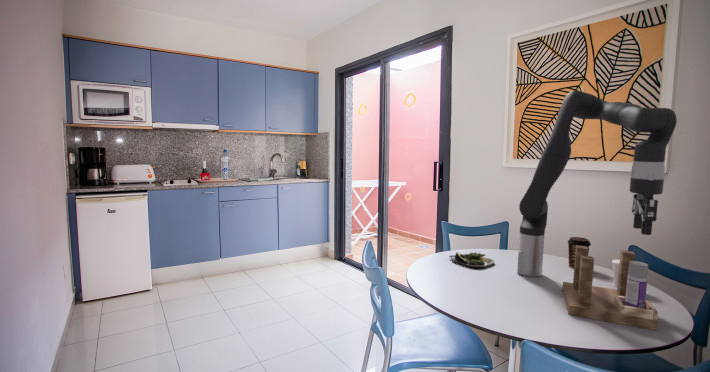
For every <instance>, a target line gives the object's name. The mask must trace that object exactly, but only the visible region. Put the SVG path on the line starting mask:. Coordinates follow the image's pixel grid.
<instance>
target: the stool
mask: <svg viewBox="0 0 710 372" xmlns="http://www.w3.org/2000/svg"><path fill="white" fill-rule="evenodd" d="M619 253H620V256H619V260H620V264H619V275H618V287H616V288H617V289H616V288H615V289H614V288H609V287H602V286H601V287H600V286H595V285H593V280H594V279H593V278H594V267H595V266H594V265H595V259H594V257H593V256H591V255H590V256H589V253H588V248H587V246H577V245H576V252H575V265H574V268H573V279H572V280H573V282H568V281H562V288H561V289H562V293H563V298H564V302H565V305H566V310H567V315H570V316H575V317H581V318H586V319H591V320H592V319H593V320H597V321H604V322H609V323H614V324H620V325H624V326H625V325H626V326H630V327H637V328H641V329H646V330H652V331H655V332H656V331H657V330H658V317H659V316H658V315H659V311H657V309H656V307H654V305H653V304H652V303H651V301H650V300H648V299H645V307H644V309H643V308H637V307H631V306H625V298H626V287H627V277H628V270H629V262H630V261H635V259H636V258H635V257H636V254H635V252H634V251H633V250H631V251H629V250H622V249H621V250H620V252H619ZM587 255H588V256H587Z"/></svg>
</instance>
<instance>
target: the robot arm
mask: <svg viewBox="0 0 710 372" xmlns="http://www.w3.org/2000/svg"><path fill="white" fill-rule="evenodd" d="M574 118H577V119H579V120H600V121H605V122H606V123H610V124H613V125H617V126H622V127H625V128H626V129H628V130H629V131H632V132H636V133H648V134H649V136H648V137H647V138H646V140H643V141H638V142H637V143H636V144H635V145H634V151H633V160H632V166H631V171H630V183H629V192H630V193H632V194H633V196H632V197H633V200H632V207H631V213H632V215H633V225H632V227H633V228H634V229H637V230H640V233H641V235H645V236H651V235H652V231H653V223H654V222H656V221H657V220H658V219H657V216H658V215H657V214H658V203H659V201H658V199H654V196H655V195H659V196H660V195H662V194H663V192H664V182H665V181H664V180H665V172H666V168H665V167H666V166H665V160H666V154H667V153H666V152H667V151H666V150H667V147H668V144H669V142H670V140H671V137H672V136H673V133H674V131H675V129H676V127H677V121H678V119H677V115H676V112H675V111H674V110H673V109H671V108H667V107H642V106H641V105H638V104H635V103H629V102H623V101H613V102H610V101H606V100H604V99H602V98H600V97H598V96H596V95H594V94H591V93H589V92H585V91H581V90H576V89H575V90H571V91H570V92H568V93H567V94H566V95H565V97H564V99H563V100H562V103H561V105H560V108H559V111H558V114H557V117H556V120H555V123H554V126H553V129H552V132H551V134H550V136H549V138H548V141H547V142H546V143H547V144H546V145H545V148H544V149H543V151H542V154H541V156H540V158H539V161H538V164H537V166H536V169H535V172H534V174H533V177H532V179H531V182H530V185H529V186H528V188H527V190H526V192H525V194H524V195H523V197H522V199H521V200H520V202H519V207H518V208H519V213H520V214H521V215H522V219H521V220H522V221H521V222H520V223H521V224H520V226H519V239H518V240H519V242H518V257H517V269H516V270H517V273H516V274H519V275H522V276H524V277H525V276H526V277H530V278H531V277H532V278H539V277H542V275H543V267H544V266H543V262H544V248H545V247H544V246H545V233H546V227H547V223H548V220H547V219H548V211H549V210H548V209H549V208H548V207H549V206H548V201H547V198H548V196H549V193H550V191H551V189H552V187H553V186H554V184H555V183H556V182H557V180H558V179H559V178H560V176H561V175H562V173H563V172H564V170H565V168H566V166H567V164H568V162H569V160H570V158H571V154H572V144H571V139H570V128H571V124H572V122H573V119H574Z"/></svg>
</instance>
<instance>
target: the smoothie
mask: <svg viewBox="0 0 710 372" xmlns="http://www.w3.org/2000/svg"><path fill="white" fill-rule="evenodd" d="M611 264H612V272H613V285H614V287H615V288H617V287H618V275H619V264H620V259H612V260H611Z"/></svg>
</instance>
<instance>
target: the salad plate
mask: <svg viewBox="0 0 710 372" xmlns="http://www.w3.org/2000/svg"><path fill="white" fill-rule="evenodd" d="M448 257H449V258H450V259H451V260H452V262H453V263H454V264H456V263H457V264H456V265H458V264H459V266H461V265H462V266H461V267H464V266H465V268H467V267H469V269H473V268H474V270H475V269H476V270H482V269H486V268H487V267H490V266H491V265H493V264H494V263H495V260H494V259H492V258H489V257H488V258H487V257H486V254H485V253H481V252H478V253H477V252H469V253H460V252H458V251H456V253H455V254H454V255H452V254H451V255H449V256H448Z"/></svg>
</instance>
